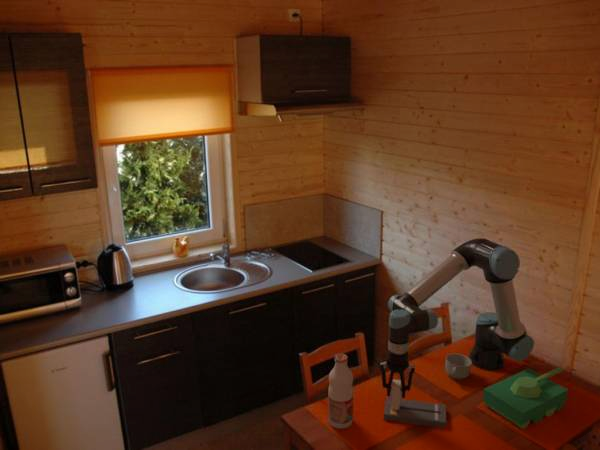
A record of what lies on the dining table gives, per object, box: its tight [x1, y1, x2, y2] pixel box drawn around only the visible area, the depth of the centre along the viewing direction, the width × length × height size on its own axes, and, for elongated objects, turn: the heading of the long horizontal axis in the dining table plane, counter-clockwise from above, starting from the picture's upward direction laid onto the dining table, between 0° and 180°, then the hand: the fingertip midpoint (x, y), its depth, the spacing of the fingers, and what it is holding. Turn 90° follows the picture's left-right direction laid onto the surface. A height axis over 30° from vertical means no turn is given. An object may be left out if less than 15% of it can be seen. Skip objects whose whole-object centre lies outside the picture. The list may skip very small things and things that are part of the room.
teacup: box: [444, 352, 473, 380], centre depth 231 cm, size 14×11×8 cm
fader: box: [391, 378, 402, 410], centre depth 208 cm, size 3×5×10 cm, turn 167°
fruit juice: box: [327, 353, 354, 430], centre depth 201 cm, size 9×9×28 cm
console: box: [383, 396, 447, 429], centre depth 208 cm, size 23×11×3 cm, turn 77°
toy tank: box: [482, 366, 569, 429], centre depth 212 cm, size 18×12×35 cm
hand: (395, 403), depth 209 cm, fingers closed on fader, 3 cm apart
